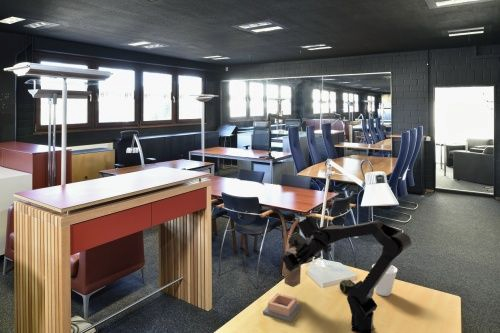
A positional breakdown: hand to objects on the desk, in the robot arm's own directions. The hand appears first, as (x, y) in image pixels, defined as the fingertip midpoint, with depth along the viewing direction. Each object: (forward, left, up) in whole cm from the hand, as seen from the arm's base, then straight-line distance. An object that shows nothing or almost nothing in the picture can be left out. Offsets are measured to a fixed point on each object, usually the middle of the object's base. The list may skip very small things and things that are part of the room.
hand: (290, 266), depth 151 cm
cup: (-33, -21, -13) cm, 41 cm away
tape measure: (-20, -16, -13) cm, 29 cm away
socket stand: (-2, +12, -12) cm, 18 cm away
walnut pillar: (-1, 0, -7) cm, 7 cm away
